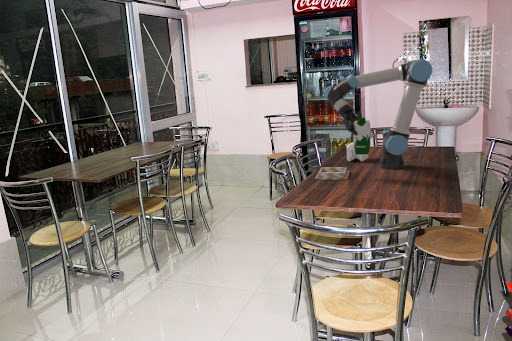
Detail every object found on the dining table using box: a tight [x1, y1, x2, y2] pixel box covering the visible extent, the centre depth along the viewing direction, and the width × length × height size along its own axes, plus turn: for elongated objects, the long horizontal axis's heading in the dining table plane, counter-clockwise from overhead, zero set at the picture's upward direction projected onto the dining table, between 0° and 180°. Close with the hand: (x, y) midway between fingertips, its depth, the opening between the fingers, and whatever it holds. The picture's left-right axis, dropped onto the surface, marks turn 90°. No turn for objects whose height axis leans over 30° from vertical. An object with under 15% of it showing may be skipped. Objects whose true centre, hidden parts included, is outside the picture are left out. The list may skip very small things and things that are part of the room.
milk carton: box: [353, 117, 371, 155], centre depth 239 cm, size 9×9×20 cm
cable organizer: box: [346, 141, 369, 163], centre depth 290 cm, size 15×11×12 cm
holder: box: [314, 166, 350, 181], centre depth 252 cm, size 18×18×4 cm
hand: (366, 137), depth 237 cm, fingers closed on milk carton, 9 cm apart
